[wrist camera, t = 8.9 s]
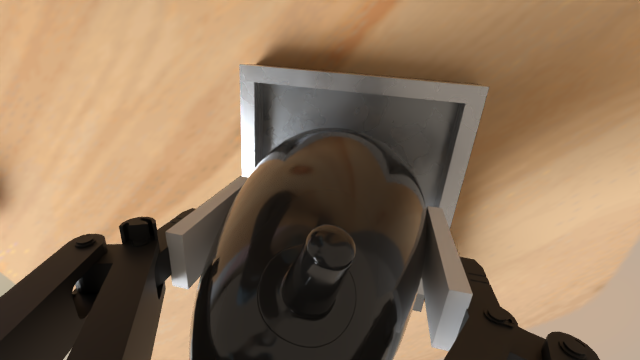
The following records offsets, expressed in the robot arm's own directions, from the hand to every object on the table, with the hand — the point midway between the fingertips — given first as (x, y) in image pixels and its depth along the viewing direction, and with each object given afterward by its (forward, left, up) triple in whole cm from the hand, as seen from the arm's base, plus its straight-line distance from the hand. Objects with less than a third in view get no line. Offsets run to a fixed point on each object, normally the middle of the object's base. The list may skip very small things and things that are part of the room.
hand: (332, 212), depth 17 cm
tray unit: (+2, 0, -6) cm, 6 cm away
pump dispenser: (0, 0, -4) cm, 4 cm away
